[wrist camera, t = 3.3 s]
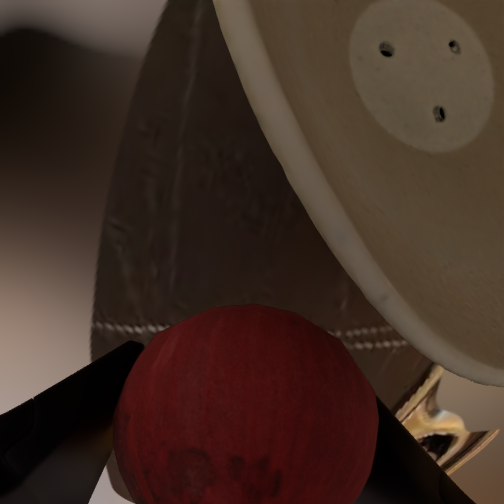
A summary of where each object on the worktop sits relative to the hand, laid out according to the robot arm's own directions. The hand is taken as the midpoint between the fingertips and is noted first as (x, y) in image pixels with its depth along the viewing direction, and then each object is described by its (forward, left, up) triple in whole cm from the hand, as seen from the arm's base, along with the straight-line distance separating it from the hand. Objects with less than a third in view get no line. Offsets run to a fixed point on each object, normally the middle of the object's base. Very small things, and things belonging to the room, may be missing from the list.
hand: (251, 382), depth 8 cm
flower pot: (+11, -4, -7) cm, 14 cm away
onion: (0, 0, -2) cm, 2 cm away
